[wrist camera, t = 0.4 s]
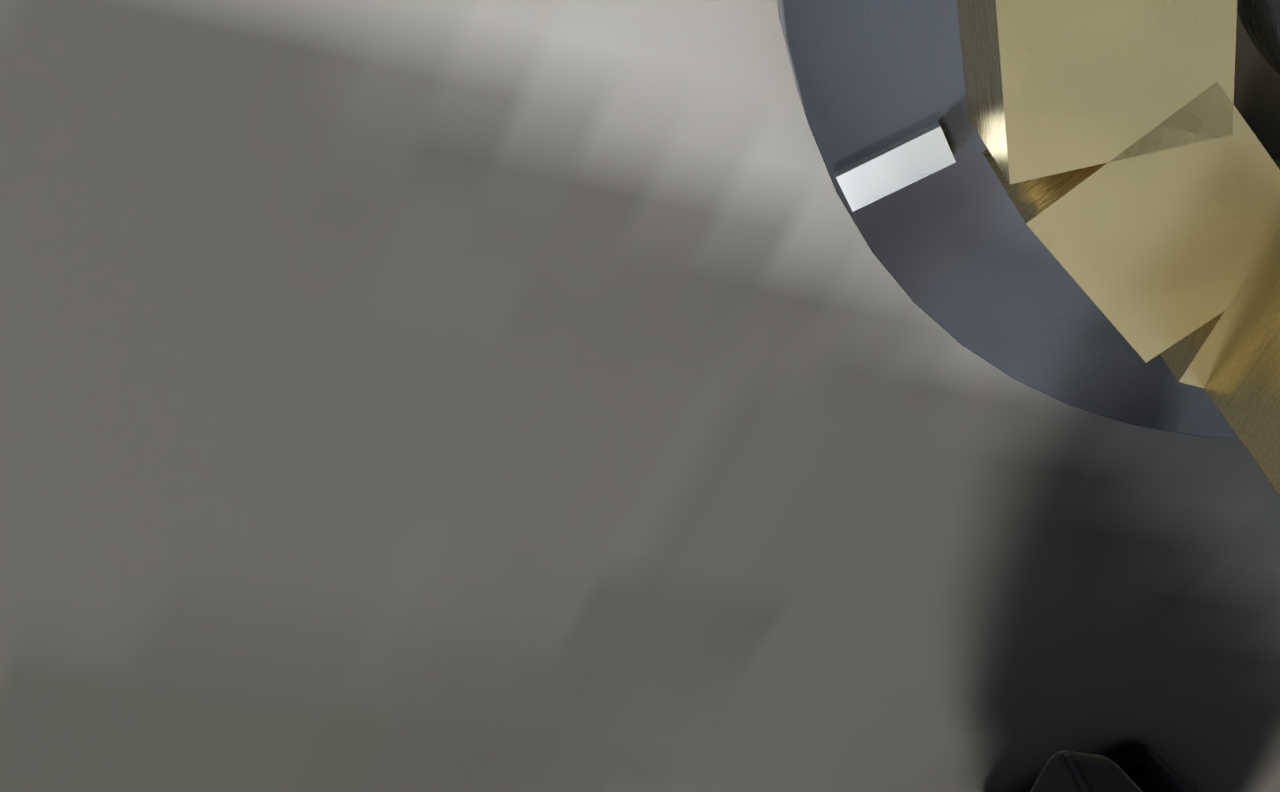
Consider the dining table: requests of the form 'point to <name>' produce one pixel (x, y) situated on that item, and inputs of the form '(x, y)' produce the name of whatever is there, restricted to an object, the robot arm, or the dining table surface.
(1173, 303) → the tan segmented ring
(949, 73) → the grey round tray
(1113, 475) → the dining table surface
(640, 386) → the dining table surface
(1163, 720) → the dining table surface
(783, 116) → the dining table surface
